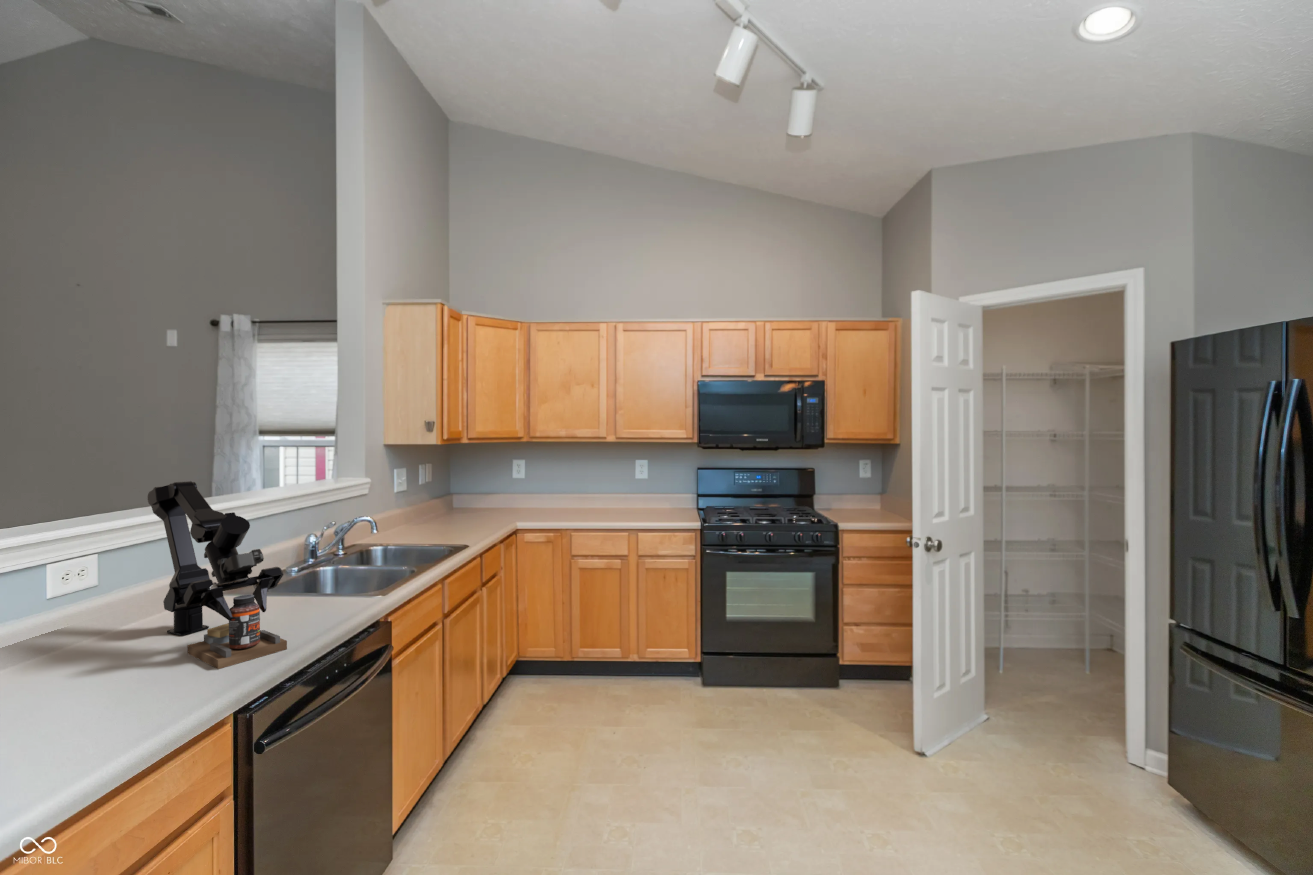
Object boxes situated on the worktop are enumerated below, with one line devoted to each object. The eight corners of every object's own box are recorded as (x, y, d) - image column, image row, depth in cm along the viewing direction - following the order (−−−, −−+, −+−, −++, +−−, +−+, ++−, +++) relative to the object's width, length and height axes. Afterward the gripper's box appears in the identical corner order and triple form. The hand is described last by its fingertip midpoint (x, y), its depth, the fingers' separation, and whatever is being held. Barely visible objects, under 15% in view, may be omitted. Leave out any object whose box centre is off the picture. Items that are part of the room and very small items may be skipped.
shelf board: (187, 653, 137) (187, 632, 137) (254, 635, 149) (254, 616, 149) (218, 669, 128) (218, 646, 128) (286, 649, 140) (286, 628, 140)
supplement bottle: (253, 648, 134) (251, 598, 134) (223, 651, 133) (222, 600, 133) (265, 640, 140) (263, 592, 140) (237, 642, 139) (235, 594, 139)
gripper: (188, 546, 130) (212, 604, 125) (279, 533, 146) (303, 585, 140) (173, 576, 134) (195, 634, 129) (263, 561, 150) (286, 612, 145)
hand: (248, 615), depth 136 cm, fingers open, 7 cm apart
